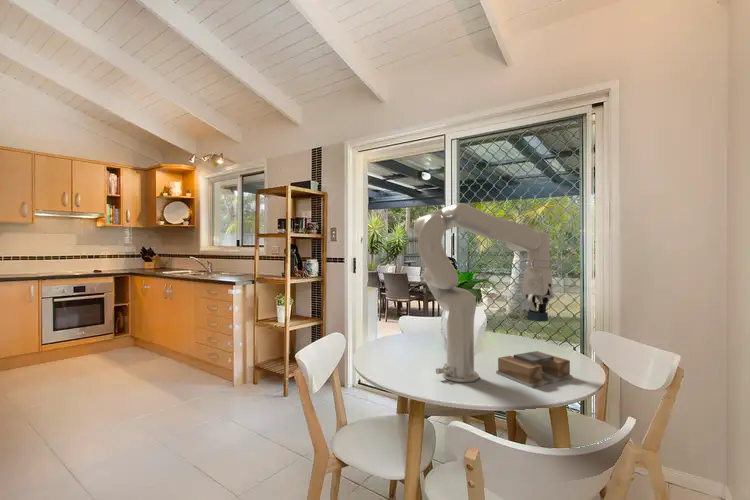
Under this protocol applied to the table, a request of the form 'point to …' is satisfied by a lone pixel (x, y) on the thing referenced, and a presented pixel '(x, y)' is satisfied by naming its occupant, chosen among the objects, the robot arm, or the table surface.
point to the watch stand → (534, 368)
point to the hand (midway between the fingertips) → (537, 313)
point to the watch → (535, 315)
